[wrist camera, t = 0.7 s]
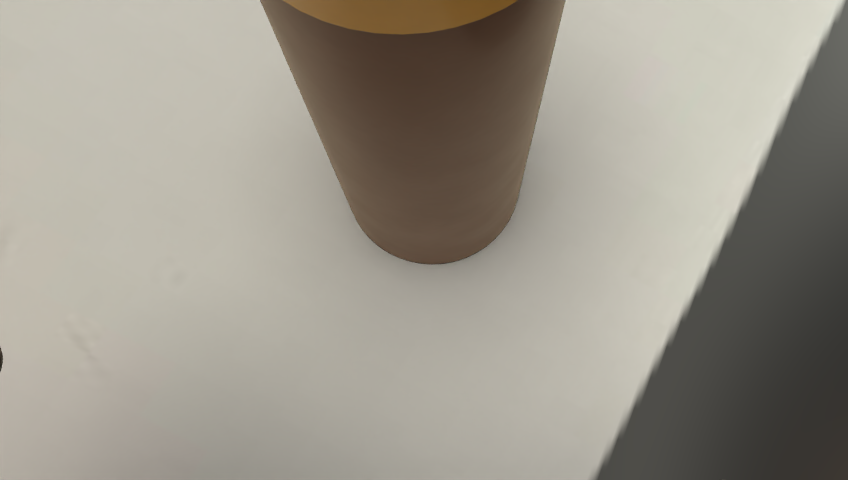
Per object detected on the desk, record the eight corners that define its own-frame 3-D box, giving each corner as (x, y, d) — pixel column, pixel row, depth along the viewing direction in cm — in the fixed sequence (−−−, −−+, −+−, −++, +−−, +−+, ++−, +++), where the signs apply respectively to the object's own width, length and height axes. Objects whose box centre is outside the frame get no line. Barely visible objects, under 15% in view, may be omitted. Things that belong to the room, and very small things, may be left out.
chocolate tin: (482, 295, 25) (523, 48, 10) (314, 227, 26) (106, -102, 11) (548, 134, 27) (677, -311, 11) (386, 74, 27) (296, -421, 12)
